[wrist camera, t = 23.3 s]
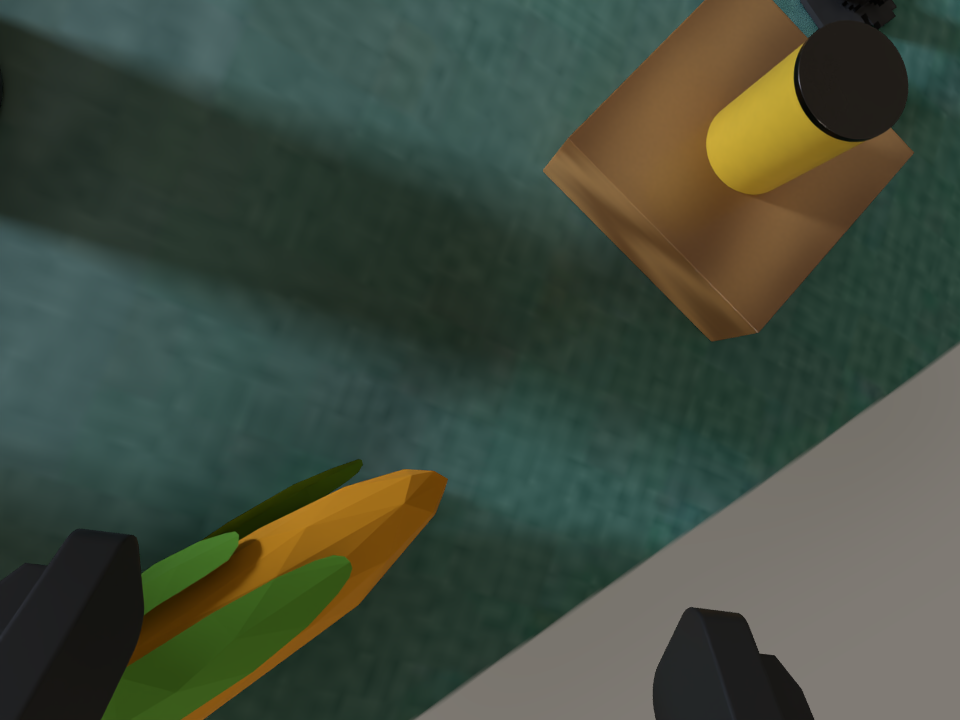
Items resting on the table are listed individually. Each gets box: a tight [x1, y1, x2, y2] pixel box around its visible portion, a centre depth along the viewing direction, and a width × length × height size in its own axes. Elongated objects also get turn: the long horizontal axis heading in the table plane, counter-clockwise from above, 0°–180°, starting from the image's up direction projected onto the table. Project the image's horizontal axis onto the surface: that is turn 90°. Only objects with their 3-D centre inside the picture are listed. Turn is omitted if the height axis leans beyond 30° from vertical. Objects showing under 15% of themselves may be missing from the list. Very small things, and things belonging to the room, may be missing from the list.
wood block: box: [543, 0, 914, 342], centre depth 40 cm, size 14×14×5 cm
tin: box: [706, 20, 908, 195], centre depth 34 cm, size 5×5×8 cm
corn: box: [101, 459, 448, 720], centre depth 33 cm, size 7×8×20 cm
